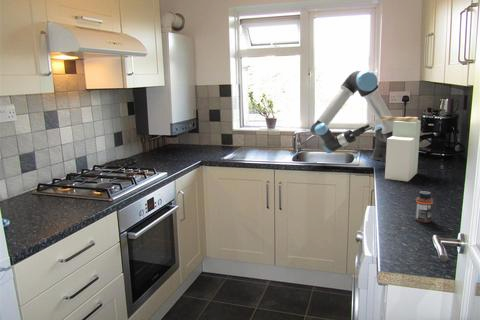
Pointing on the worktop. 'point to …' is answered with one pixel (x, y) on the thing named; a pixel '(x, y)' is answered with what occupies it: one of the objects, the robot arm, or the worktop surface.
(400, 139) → the tall pale green block
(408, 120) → the t-shaped wooden block
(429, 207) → the supplement bottle
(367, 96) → the robot arm
